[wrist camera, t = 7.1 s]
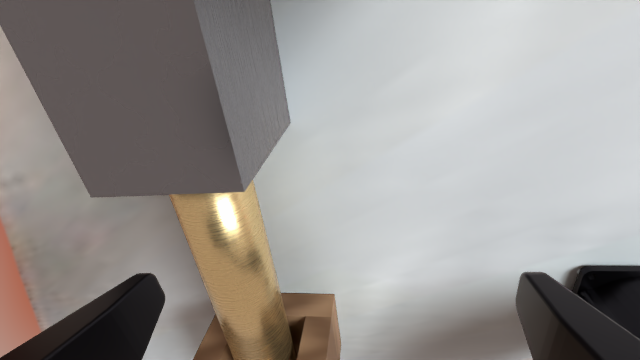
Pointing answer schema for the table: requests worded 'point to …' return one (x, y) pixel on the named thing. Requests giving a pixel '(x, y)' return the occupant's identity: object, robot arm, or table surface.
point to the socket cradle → (305, 327)
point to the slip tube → (237, 271)
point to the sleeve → (155, 89)
